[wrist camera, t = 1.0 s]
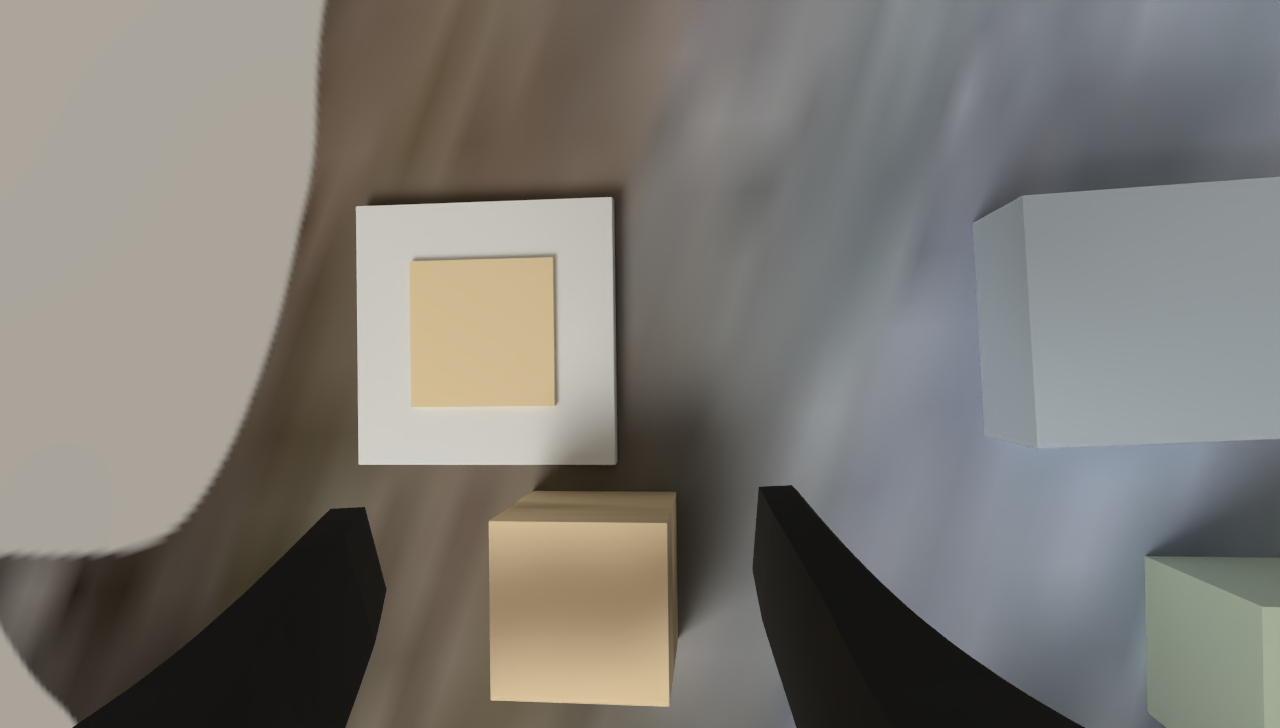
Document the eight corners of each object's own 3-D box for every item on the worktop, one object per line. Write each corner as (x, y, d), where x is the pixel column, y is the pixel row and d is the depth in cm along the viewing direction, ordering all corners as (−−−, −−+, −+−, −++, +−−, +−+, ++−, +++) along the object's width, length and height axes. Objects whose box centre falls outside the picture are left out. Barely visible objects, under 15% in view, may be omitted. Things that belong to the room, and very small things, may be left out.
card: (617, 462, 25) (614, 465, 24) (366, 462, 25) (355, 465, 25) (614, 201, 25) (610, 195, 24) (364, 209, 26) (353, 204, 25)
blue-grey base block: (1209, 425, 23) (1313, 437, 19) (982, 435, 24) (1037, 448, 20) (1194, 208, 23) (1296, 175, 19) (969, 224, 24) (1022, 195, 20)
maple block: (678, 637, 24) (669, 706, 19) (534, 633, 25) (490, 700, 20) (676, 491, 24) (667, 522, 20) (533, 490, 25) (488, 521, 20)
